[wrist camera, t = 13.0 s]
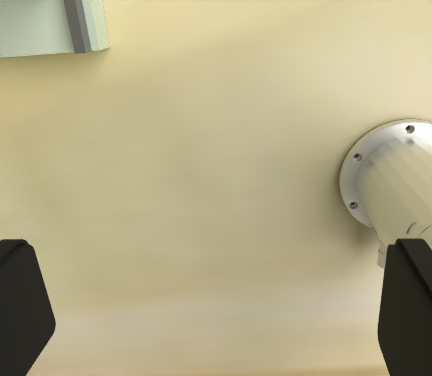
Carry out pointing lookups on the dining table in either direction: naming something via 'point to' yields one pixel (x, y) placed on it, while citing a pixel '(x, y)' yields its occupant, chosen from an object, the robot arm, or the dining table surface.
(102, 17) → the stand
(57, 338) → the dining table surface
